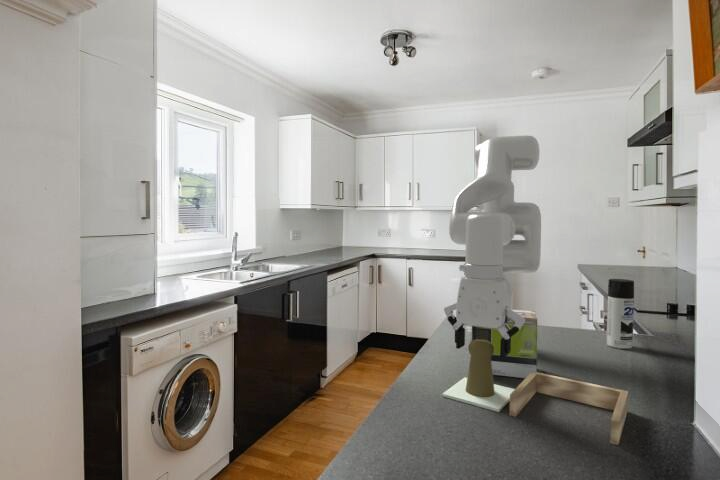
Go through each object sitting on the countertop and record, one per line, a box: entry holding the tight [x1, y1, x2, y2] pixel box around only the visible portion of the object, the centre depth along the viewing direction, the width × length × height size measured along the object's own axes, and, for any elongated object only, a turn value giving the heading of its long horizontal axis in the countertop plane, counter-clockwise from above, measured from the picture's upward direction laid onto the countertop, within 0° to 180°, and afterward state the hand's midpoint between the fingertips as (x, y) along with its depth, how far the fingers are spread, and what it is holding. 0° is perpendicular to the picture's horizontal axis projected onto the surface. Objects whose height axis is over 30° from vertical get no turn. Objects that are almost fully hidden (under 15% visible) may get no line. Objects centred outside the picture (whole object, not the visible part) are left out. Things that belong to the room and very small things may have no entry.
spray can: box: [606, 278, 635, 350], centre depth 127 cm, size 7×7×20 cm
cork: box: [466, 339, 495, 397], centre depth 91 cm, size 6×6×11 cm
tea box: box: [471, 309, 538, 379], centre depth 106 cm, size 15×10×15 cm, turn 71°
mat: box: [441, 376, 516, 413], centre depth 92 cm, size 12×12×1 cm
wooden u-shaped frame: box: [509, 371, 629, 446], centre depth 83 cm, size 18×16×4 cm
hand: (481, 351), depth 92 cm, fingers open, 9 cm apart
